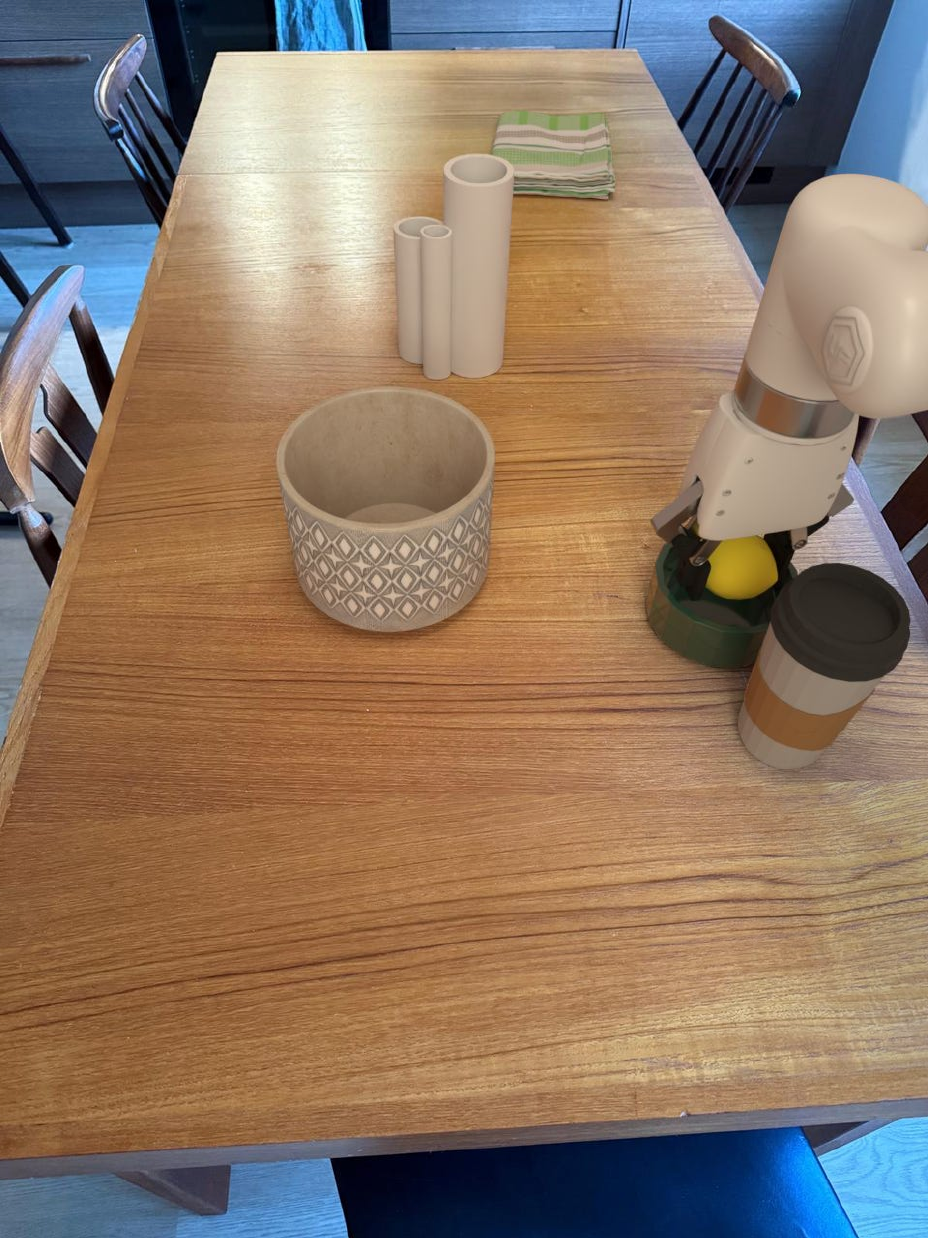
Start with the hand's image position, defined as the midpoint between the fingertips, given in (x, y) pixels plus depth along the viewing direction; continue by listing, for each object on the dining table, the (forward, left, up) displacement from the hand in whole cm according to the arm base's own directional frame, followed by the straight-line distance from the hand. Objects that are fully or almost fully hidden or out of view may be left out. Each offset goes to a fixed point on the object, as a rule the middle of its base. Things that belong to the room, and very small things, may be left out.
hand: (728, 579), depth 70 cm
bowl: (0, 0, -5) cm, 5 cm away
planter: (+22, +16, -5) cm, 28 cm away
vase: (+41, -8, -5) cm, 42 cm away
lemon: (0, 0, -1) cm, 1 cm away
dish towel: (+67, -51, -5) cm, 84 cm away
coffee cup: (-10, +6, -5) cm, 13 cm away
